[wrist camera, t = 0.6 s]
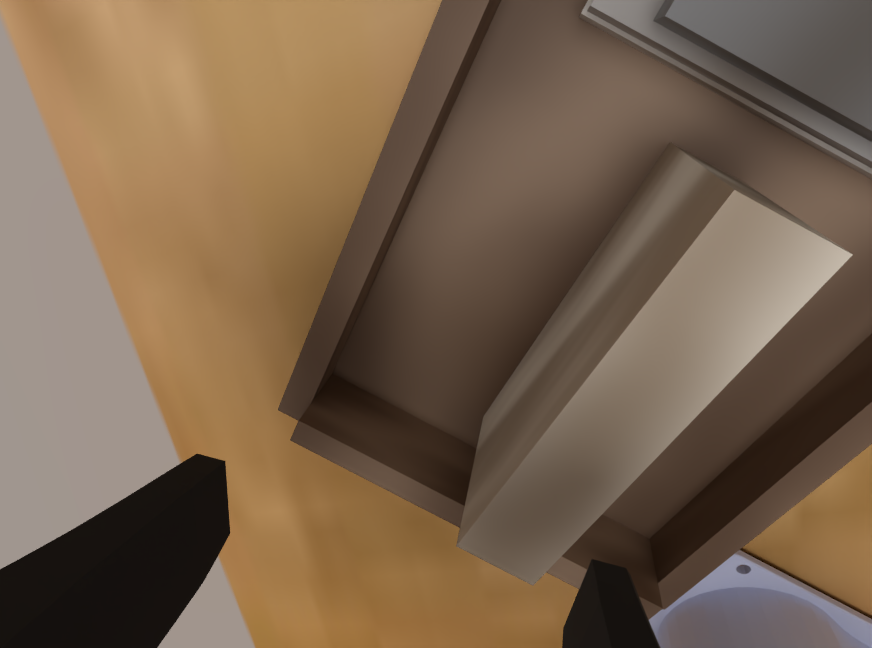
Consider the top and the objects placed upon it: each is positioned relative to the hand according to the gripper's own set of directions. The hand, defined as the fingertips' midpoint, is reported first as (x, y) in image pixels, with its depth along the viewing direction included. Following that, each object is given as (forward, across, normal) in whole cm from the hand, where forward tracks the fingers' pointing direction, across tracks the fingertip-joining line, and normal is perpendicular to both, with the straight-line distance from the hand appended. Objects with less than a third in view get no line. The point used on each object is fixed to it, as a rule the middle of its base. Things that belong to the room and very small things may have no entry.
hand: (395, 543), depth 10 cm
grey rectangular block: (+9, -4, -1) cm, 10 cm away
